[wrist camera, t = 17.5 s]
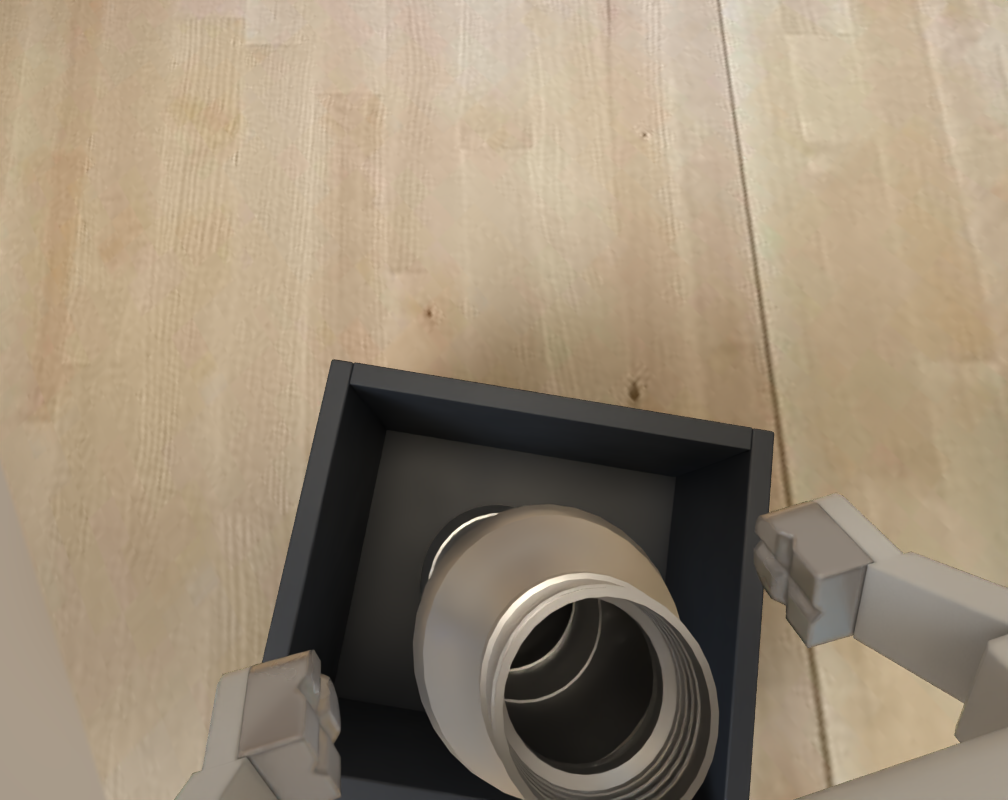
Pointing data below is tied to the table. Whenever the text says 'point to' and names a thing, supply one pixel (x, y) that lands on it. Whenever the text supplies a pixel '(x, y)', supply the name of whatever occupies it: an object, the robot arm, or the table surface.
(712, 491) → the waste bin
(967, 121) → the table surface
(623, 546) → the silver bottle
